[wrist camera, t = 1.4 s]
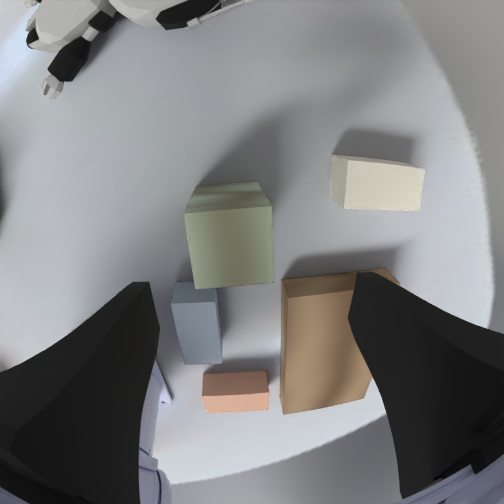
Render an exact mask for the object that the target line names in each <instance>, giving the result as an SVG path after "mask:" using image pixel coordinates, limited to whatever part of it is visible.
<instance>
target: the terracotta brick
mask: <svg viewBox="0 0 504 504" xmlns="http://www.w3.org/2000/svg"><path fill="white" fill-rule="evenodd" d="M202 397H203V401H204V405H205V409H206V413H224V412H244V411H257V410H268V409H269V387H268V381H267V376H266V370H260V371H247V372H230V373H203V390H202Z"/></svg>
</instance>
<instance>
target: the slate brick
mask: <svg viewBox="0 0 504 504" xmlns="http://www.w3.org/2000/svg"><path fill="white" fill-rule="evenodd" d="M170 304H171V309H172V313H173V318H174V322H175V327H176V331H177V335H178V340H179V344H180V348H181V352H182V356H183V359H184V363H185V365H187V364H220V363H222V335H221V326H220V317H219V308H218V299H217V289H216V288H205V289H195V284H194V281H188V282H176V284H175V288H174V292H173V296H172V299H171V303H170Z"/></svg>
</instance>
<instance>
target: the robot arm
mask: <svg viewBox="0 0 504 504" xmlns="http://www.w3.org/2000/svg"><path fill="white" fill-rule="evenodd" d="M348 321H349V324H350V327H351V331H352V333H353V336H354V339H355V342H356V344H357V346H358V348H359V350H360V352H361V354H362V356H363V358H364V360H365V362H366V364H367V366H368V368H369V370H370V372H371V375H372V377H373V379H374V381H375V383H376V385H377V387H378V390H379V392H380V394H381V397H382V400H383V403H384V407H385V410H386V413H387V416H388V420H389V424H390V428H391V432H392V436H393V441H394V446H395V451H396V457H397V464H398V472H399V482H400V493H401V496H402V499H403V500H401V501H398V502H395V503H393V504H504V334H502V333H499V332H495V331H492V330H489V329H486V328H483V327H480V326H477V325H475V324H472V323H470V322H467V321H465V320H463V319H460V318H458V317H456V316H454V315H451V314H449V313H447V312H445V311H443V310H441V309H440V308H438V307H436V306H434V305H432V304H430V303H428V302H427V301H425V300H423V299H421V298H419V297H418V296H416V295H414V294H413V293H411V292H409V291H407V290H406V289H404V288H402V287H401V286H399V285H397V284H395V283H394V282H392V281H390V280H388V279H387V278H385V277H383V276H381V275H379V274H377V273H375V272H372V271H371V272H357V276H356V281H355V286H354V291H353V296H352V300H351V305H350V309H349V313H348ZM159 332H160V326H159V322H158V318H157V314H156V310H155V306H154V301H153V297H152V293H151V288H150V283H149V282H132V283H131V284H129V285H128V286H127V287H125V288H124V289H123V290H122V291H120V292H119V293H118V294H117V295H116V296H115V297H113V298H112V299H111V300H110V301H109V302H108V303H106V304H105V305H104V306H103V307H102V308H101V309H99V310H98V311H97V312H96V313H95V314H93V315H92V316H91V317H90V318H88V319H87V320H86V321H85V322H83V323H82V324H81V325H80V326H78V327H77V328H76V329H75V330H73V331H72V332H71V333H69V334H68V335H67V336H65V337H64V338H62V339H61V340H59V341H58V342H56V343H55V344H53V345H52V346H50V347H49V348H47V349H46V350H44V351H42V352H40V353H39V354H37V355H35V356H33V357H32V358H30V359H28V360H26V361H25V362H23V363H21V364H19V365H16V366H14V367H12V368H10V369H8V370H6V371H3V372H1V373H0V504H171V486H170V482H169V480H168V479H167V477H166V475H165V473H164V472H163V471H162V470H160V469H157V466H158V459H155V458H152V452H153V443H154V435H155V428H156V421H157V414H158V407H159V405H171V404H172V402H173V400H172V398H171V396H170V393H169V391H168V389H167V386H166V384H165V382H164V379H163V377H162V374H161V372H160V369H159V367H158V364H157V362H156V359H155V358H156V354H157V347H158V340H159Z"/></svg>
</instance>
